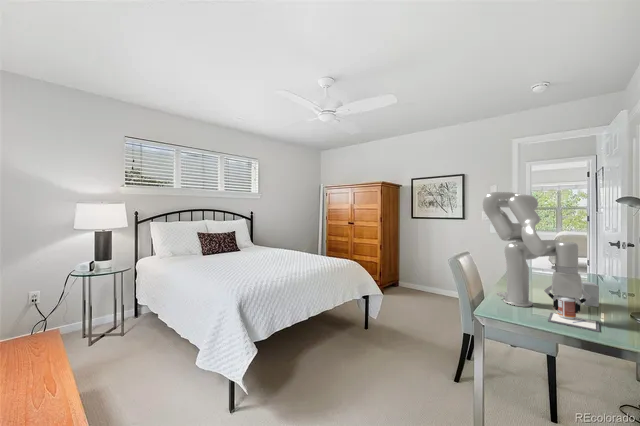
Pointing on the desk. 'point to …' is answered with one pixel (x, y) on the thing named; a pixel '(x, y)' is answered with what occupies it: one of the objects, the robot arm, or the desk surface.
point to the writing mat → (575, 322)
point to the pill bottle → (566, 307)
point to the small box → (591, 293)
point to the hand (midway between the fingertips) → (566, 310)
